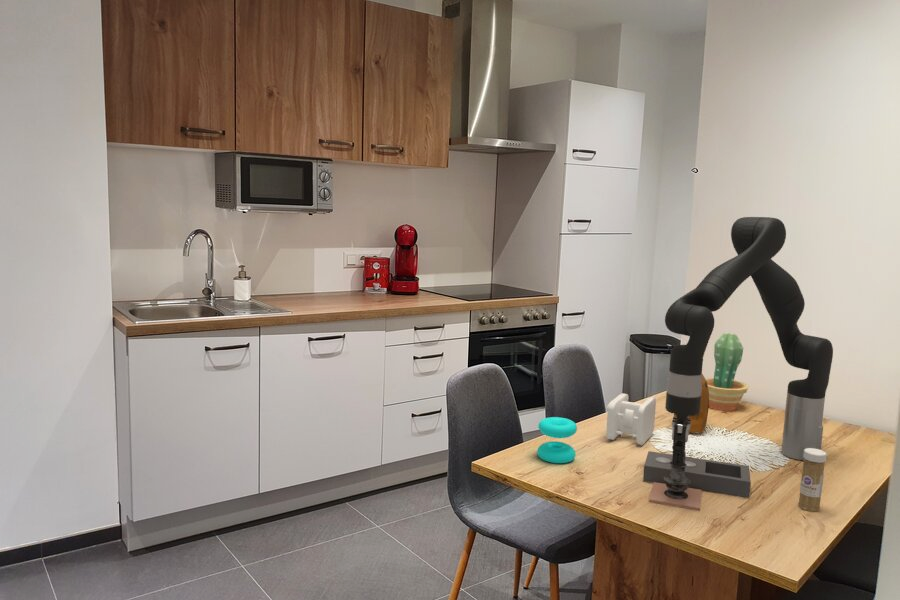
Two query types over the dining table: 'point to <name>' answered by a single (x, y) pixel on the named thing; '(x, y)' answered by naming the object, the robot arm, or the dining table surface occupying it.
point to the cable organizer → (630, 418)
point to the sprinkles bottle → (812, 479)
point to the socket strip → (701, 474)
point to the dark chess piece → (677, 481)
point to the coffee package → (700, 419)
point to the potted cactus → (726, 374)
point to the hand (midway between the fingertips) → (678, 459)
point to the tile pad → (661, 498)
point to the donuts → (554, 449)
